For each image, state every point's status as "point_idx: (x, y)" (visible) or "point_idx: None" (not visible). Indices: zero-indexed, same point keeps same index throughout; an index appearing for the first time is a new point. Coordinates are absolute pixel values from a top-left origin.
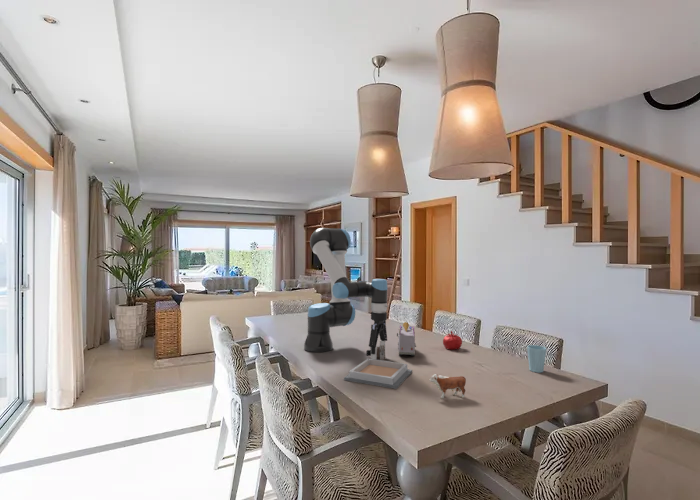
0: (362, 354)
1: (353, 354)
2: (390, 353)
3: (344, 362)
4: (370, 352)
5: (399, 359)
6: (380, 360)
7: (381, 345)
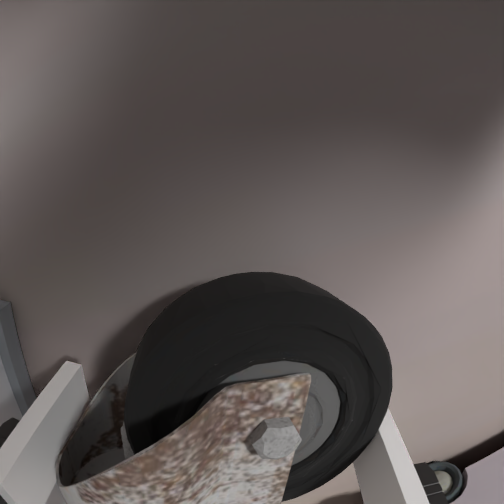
0: (411, 149)
1: (365, 33)
2: (473, 404)
3: (5, 78)
4: (127, 390)
5: (313, 495)
6: None
7: (385, 497)
